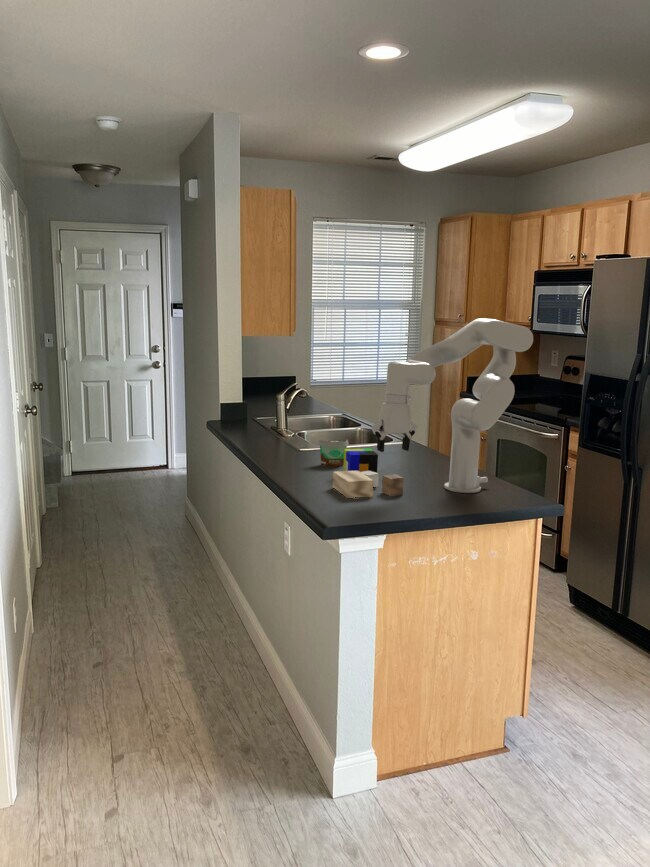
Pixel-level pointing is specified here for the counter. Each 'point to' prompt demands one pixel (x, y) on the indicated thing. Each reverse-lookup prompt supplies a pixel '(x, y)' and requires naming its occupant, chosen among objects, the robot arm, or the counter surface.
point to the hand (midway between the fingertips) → (393, 450)
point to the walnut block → (392, 485)
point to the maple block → (353, 484)
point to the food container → (332, 452)
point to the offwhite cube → (372, 477)
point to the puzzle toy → (360, 460)
